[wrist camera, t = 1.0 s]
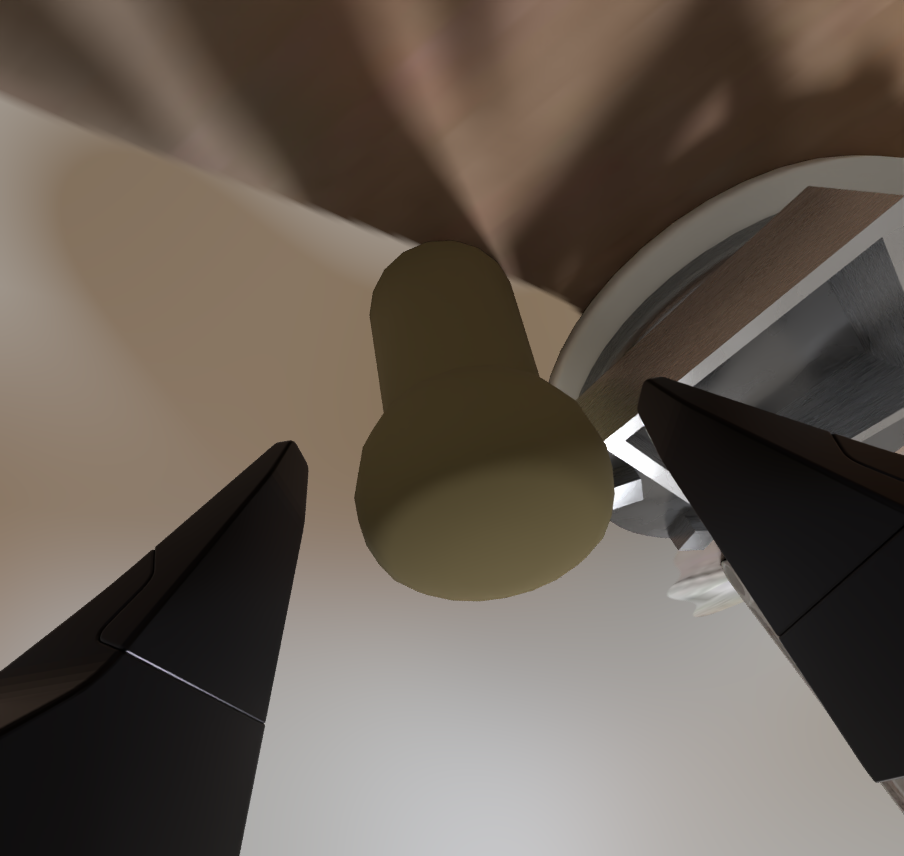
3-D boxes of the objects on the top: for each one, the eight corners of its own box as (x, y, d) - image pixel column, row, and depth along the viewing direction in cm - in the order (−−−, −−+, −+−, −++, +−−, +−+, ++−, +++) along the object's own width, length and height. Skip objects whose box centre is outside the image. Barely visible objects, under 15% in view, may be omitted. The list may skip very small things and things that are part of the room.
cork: (351, 357, 15) (285, 625, 7) (399, 208, 12) (388, 359, 4) (475, 399, 17) (544, 646, 9) (543, 281, 14) (757, 488, 6)
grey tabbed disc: (984, 357, 17) (1130, 411, 14) (677, 539, 25) (721, 603, 21) (900, 34, 10) (1179, -29, 6) (494, 438, 17) (516, 512, 14)
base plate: (886, -16, 10) (940, -34, 9) (979, 341, 18) (1012, 352, 17) (468, 430, 18) (471, 446, 17) (662, 535, 27) (672, 550, 26)
